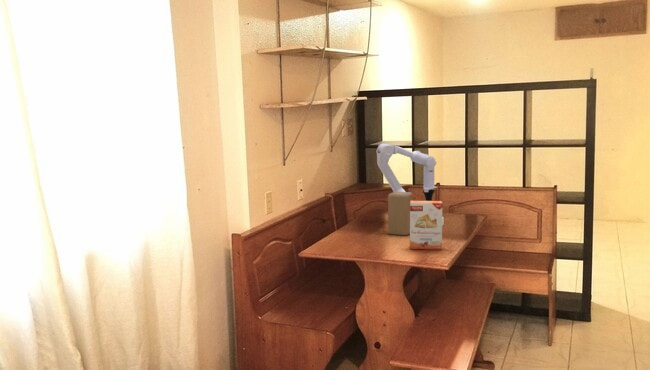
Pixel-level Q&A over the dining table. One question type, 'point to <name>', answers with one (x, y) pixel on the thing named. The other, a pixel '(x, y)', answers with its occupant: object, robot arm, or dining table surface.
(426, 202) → the cracker box
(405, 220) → the wooden block
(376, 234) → the dining table surface
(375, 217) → the dining table surface
